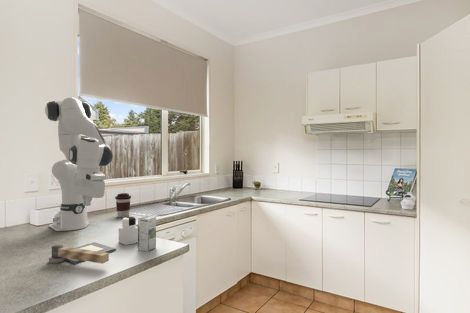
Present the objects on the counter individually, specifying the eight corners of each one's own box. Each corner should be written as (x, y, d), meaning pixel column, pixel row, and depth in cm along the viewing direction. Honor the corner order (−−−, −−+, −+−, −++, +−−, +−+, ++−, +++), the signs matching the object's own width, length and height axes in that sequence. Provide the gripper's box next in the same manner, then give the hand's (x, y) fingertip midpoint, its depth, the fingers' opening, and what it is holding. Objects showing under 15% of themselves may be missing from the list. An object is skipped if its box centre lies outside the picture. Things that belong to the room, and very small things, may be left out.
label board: (40, 259, 119) (40, 255, 119) (94, 244, 138) (94, 241, 138) (61, 268, 110) (61, 264, 110) (115, 250, 130) (115, 247, 130)
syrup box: (145, 246, 136) (145, 215, 135) (156, 247, 133) (156, 216, 133) (137, 250, 130) (137, 217, 130) (148, 252, 128) (148, 218, 128)
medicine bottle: (131, 239, 147) (131, 215, 146) (139, 241, 142) (139, 217, 142) (118, 242, 141) (118, 217, 141) (126, 245, 137) (126, 220, 136)
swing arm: (49, 257, 116) (49, 247, 116) (58, 253, 120) (58, 243, 120) (101, 265, 108) (101, 254, 108) (109, 261, 112) (109, 251, 112)
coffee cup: (126, 218, 191) (126, 195, 191) (112, 217, 193) (112, 194, 193) (133, 214, 201) (133, 193, 201) (120, 214, 203) (120, 192, 202)
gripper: (68, 172, 133) (67, 202, 133) (94, 177, 122) (93, 210, 122) (82, 171, 138) (81, 201, 139) (108, 176, 127) (106, 207, 127)
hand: (86, 205), depth 130 cm, fingers closed
